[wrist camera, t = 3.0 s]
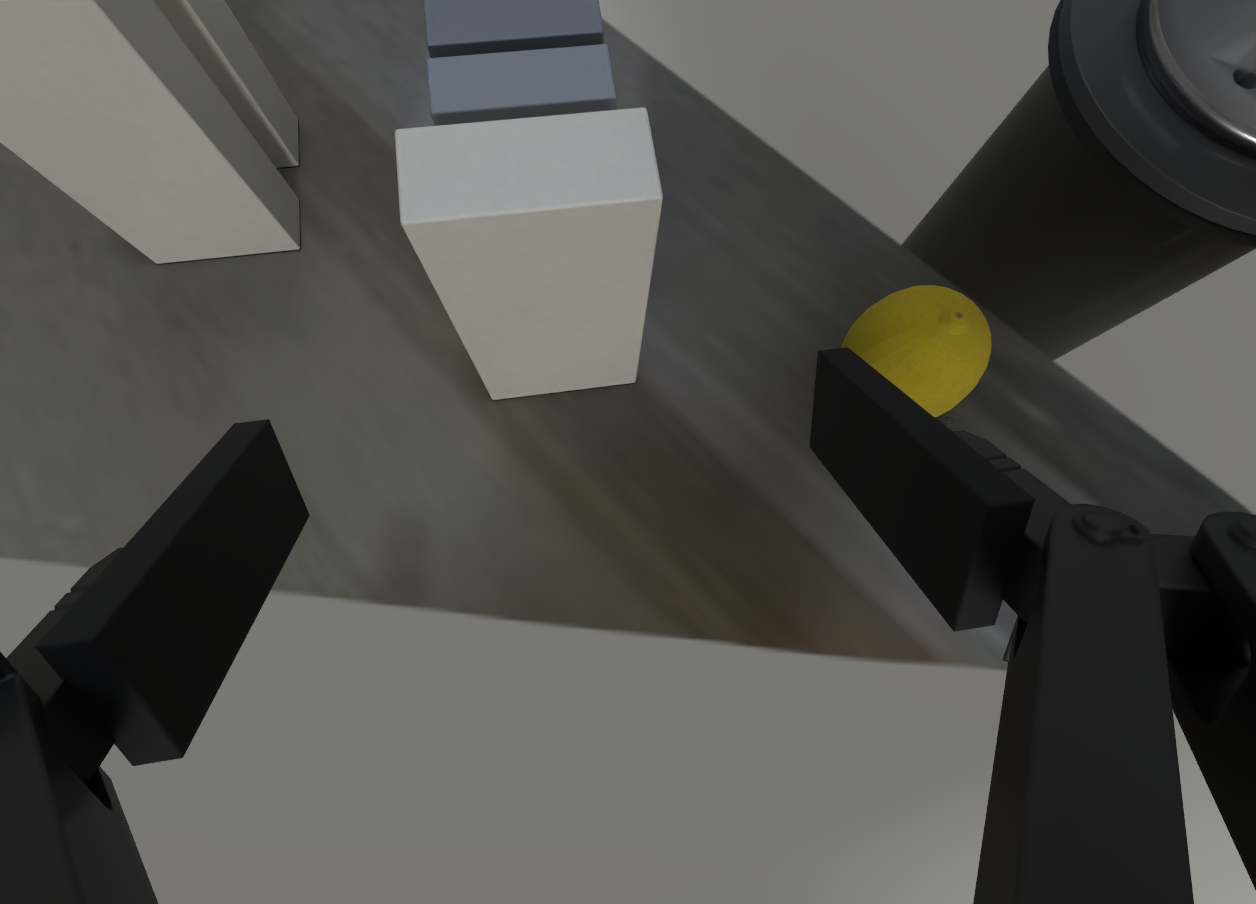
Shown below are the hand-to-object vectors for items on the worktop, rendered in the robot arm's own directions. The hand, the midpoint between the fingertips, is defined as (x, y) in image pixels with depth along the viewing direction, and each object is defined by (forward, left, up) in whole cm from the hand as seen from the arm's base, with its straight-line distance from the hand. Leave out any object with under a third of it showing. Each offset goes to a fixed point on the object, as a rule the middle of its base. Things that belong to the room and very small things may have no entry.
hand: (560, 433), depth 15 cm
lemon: (-14, -7, -14) cm, 21 cm away
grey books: (+4, -19, -14) cm, 24 cm away
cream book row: (+19, -16, -14) cm, 29 cm away
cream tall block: (+2, -7, -14) cm, 16 cm away
